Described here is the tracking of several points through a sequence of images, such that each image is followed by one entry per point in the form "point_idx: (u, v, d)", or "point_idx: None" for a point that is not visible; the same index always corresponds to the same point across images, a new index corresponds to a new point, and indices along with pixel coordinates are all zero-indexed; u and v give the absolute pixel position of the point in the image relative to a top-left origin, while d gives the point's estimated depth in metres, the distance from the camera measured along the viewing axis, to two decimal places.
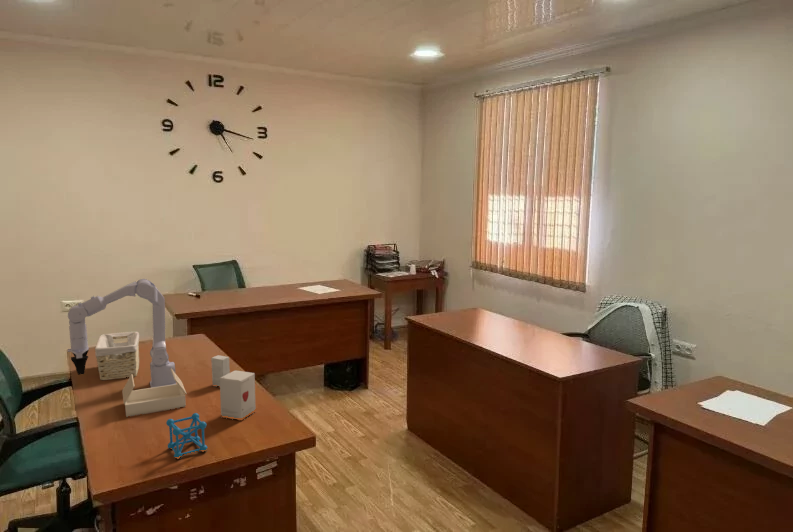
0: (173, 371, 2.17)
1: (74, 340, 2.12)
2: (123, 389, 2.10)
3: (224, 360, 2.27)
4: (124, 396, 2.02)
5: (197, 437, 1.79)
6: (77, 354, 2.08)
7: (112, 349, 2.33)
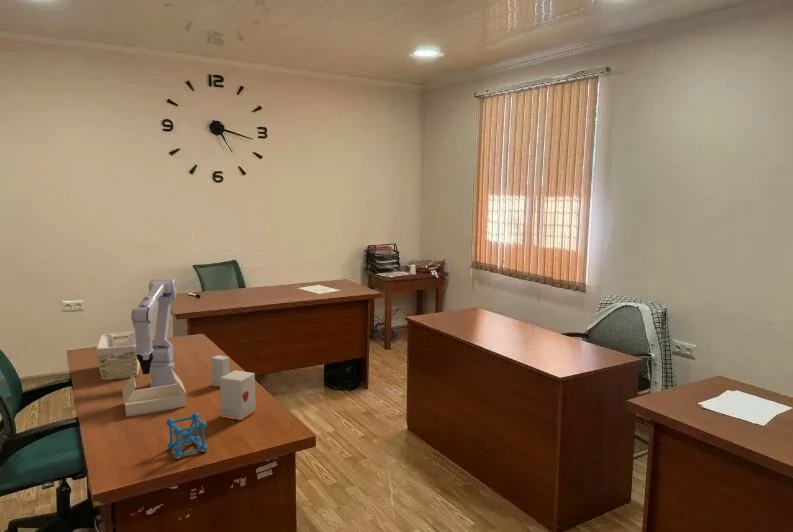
0: (173, 371, 2.17)
1: (140, 341, 2.09)
2: (123, 389, 2.10)
3: (224, 360, 2.27)
4: (124, 396, 2.03)
5: (197, 437, 1.79)
6: (144, 355, 2.06)
7: (113, 349, 2.33)
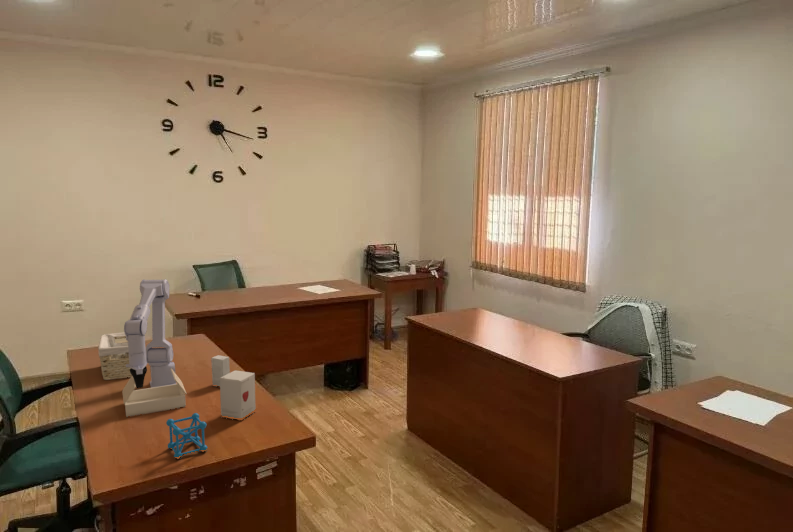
0: (173, 371, 2.17)
1: (133, 355, 2.01)
2: (123, 389, 2.10)
3: (224, 360, 2.27)
4: (124, 396, 2.03)
5: (197, 437, 1.79)
6: (137, 370, 1.98)
7: (115, 349, 2.34)
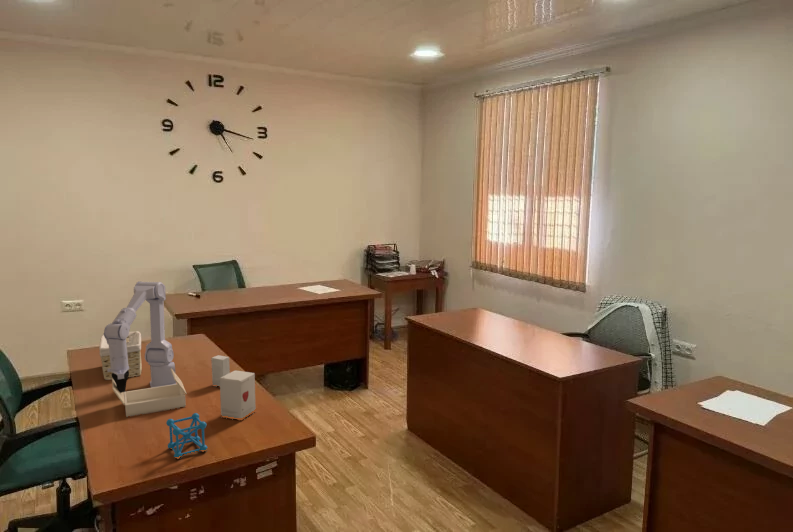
0: (173, 371, 2.17)
1: (114, 359, 1.99)
2: None
3: (224, 360, 2.27)
4: (121, 397, 2.02)
5: (197, 437, 1.79)
6: (119, 375, 1.96)
7: None
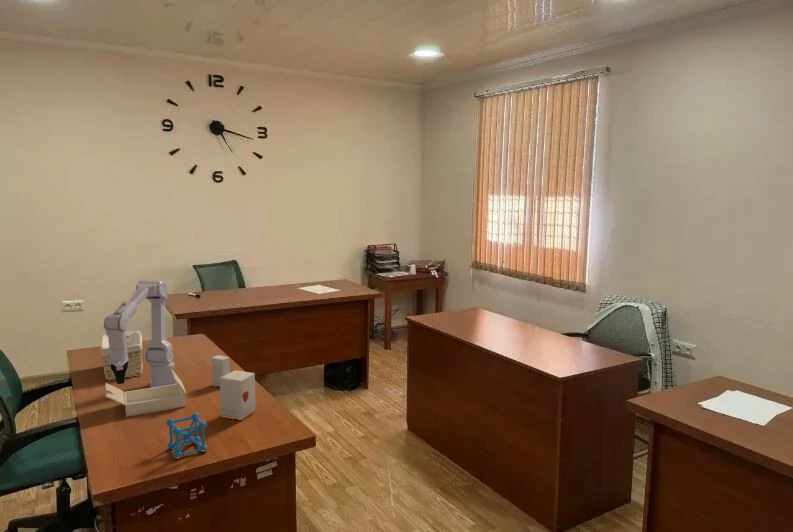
0: (173, 371, 2.17)
1: (114, 350, 1.98)
2: None
3: (224, 360, 2.27)
4: None
5: (197, 437, 1.79)
6: (117, 366, 1.95)
7: None
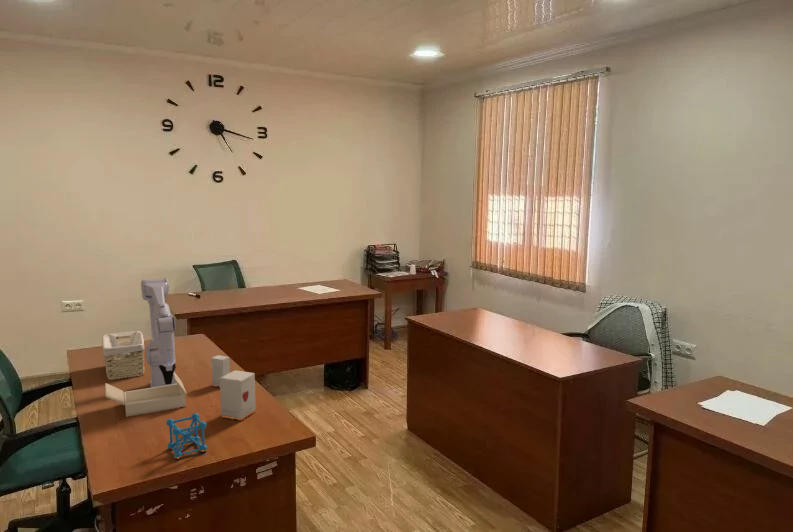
0: None
1: (163, 352, 2.06)
2: None
3: (224, 360, 2.27)
4: None
5: (197, 437, 1.79)
6: (167, 366, 2.03)
7: (120, 348, 2.34)
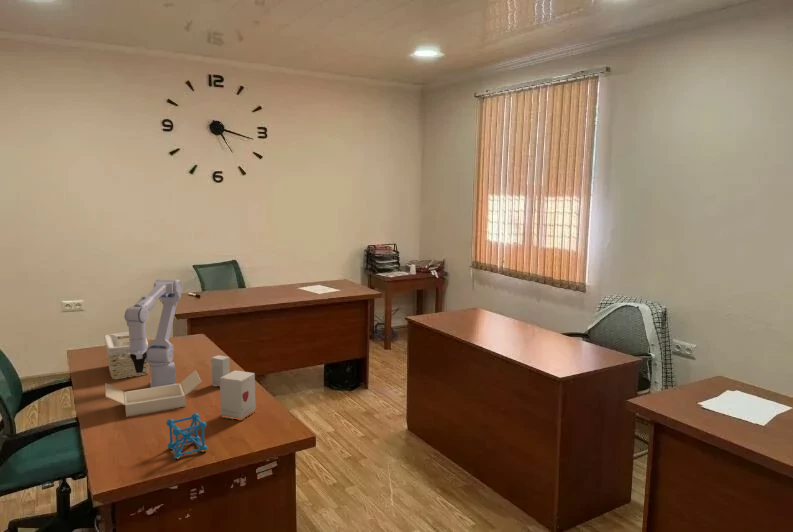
0: None
1: (134, 341, 2.10)
2: None
3: (224, 360, 2.27)
4: None
5: (197, 437, 1.79)
6: (137, 355, 2.07)
7: (125, 348, 2.35)
